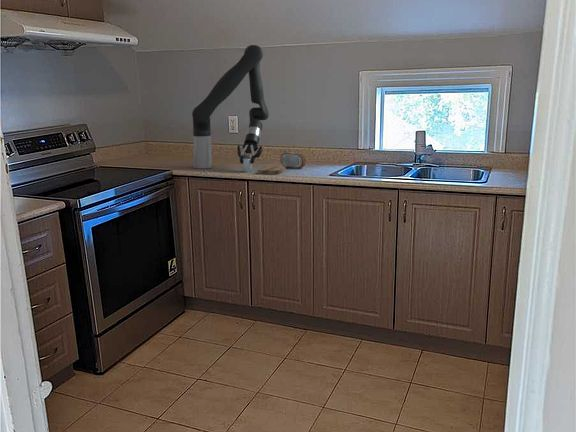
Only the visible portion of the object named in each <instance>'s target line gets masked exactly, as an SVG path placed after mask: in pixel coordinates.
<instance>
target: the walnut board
mask: <svg viewBox="0 0 576 432" xmlns="http://www.w3.org/2000/svg"><path fill="white" fill-rule="evenodd" d="M283 171H284V172H285V171H286V167H284V166H283V165H282V166H279V165H278V166H276V165H264V166H262V167H260V168H258V169H257V175H276V174H279V175H280V174H282V173H284V172H283Z"/></svg>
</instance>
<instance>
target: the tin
mask: <svg viewBox="0 0 576 432" xmlns="http://www.w3.org/2000/svg"><path fill="white" fill-rule="evenodd" d="M280 163H281V165H282V166H283V167H285V168H288V167H290V168H289V169H291V168H292V169H303V168H304V167H305V165H306V157H305V155H304V154H303V153H301V152H295V151H293V152H292V151H285V152H283V153H282V154H281V155H280Z"/></svg>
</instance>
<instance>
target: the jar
mask: <svg viewBox="0 0 576 432" xmlns="http://www.w3.org/2000/svg"><path fill="white" fill-rule="evenodd" d="M251 157H252V154H251V155H249V154H247V155H245V156H243V164H242V172H243V173H251V172H252V173H253V164H251V163H250V161H251Z"/></svg>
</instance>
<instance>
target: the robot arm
mask: <svg viewBox="0 0 576 432" xmlns="http://www.w3.org/2000/svg"><path fill="white" fill-rule="evenodd" d="M243 53H244V54H243V55H242V56H241V58H240V59H238V62H237V63H236V64H234V65H233V66H232V67H231V68H229V70H227V71H226V72H225V73H224V74H223V75H222V76H221V77H220V79H219V80H218V81H217V82H216V83H215V85H214V86H213V87H212V89H211V90H210V92H209V93H208V95H207V96H206V97H205V98H204V99H203V101H201V102H200V103H199V104H198V105H197V106H195V107H194V108H193V110H192V114H191V115H192V124H193V125H192V126H193V127H192V130H193V131H192V132H193V135H192V136H193V150H192V162H193V163H192V165H193V169H210V168H213V159H212V155H213V154H212V138H211V137H212V135H211V134H212V133H211V130H212V129H211V116H212V115H213V113H214V111H216V109H217V108H218V107H219V105H221V103H223V102H224V101H225V100H226V99H227V98H228V97H229V96H230V95H232V93H233V92H234V91H235V90H236V89H237V87H238V86H239V85H240V84H241V83H242V81H243V80H244V78H245V77H246V75H247V74H248V79H249V90H250V91H249V93H250V101H251V103H252V104H256V105H259V107H251V108H250V109H249V110H248V111H249V112H248V116H249V124H248V127H247V131H246V134H245V138H244V143H243V145H242V146H240V145H237V149H236V150H237V156H238V157H239V162H240V164H242V165H243V156H245V155H248V154H251V156H252V157H251V161H250V163H251V164H252V165H253V164H254V163H255V160H256V158H258V159H259V158H260V156H261V155H262V153H263V151H264V148H263V146H262V145H261V146H259V144H260V140H261V134H262V129H263V122H262V121H266V120H267V119H268V118H269V115H270V114H269V110H268V107H267V104H266V101H265V95H264V94H265V93H264V86H263V85H264V84H263V81H262V76H261V66H260V65H261V64H260V63H261V61H262V59H263V57H264V53H263V49H262V48H261V46H259V45H258V44H250V45H248V46H246V48H245V50H244V52H243ZM255 152H256V153H255Z"/></svg>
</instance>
